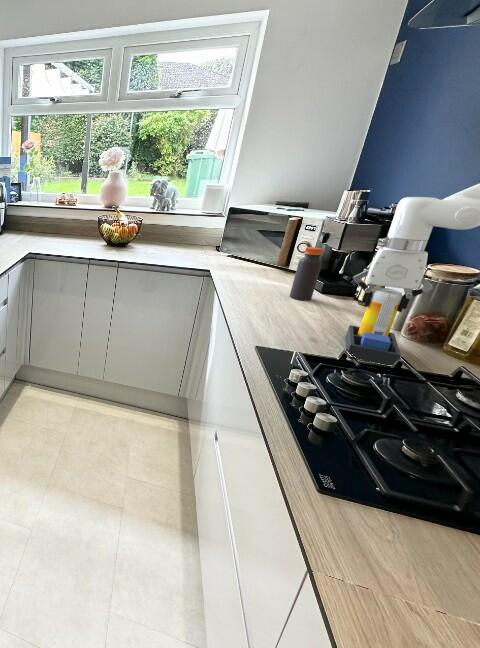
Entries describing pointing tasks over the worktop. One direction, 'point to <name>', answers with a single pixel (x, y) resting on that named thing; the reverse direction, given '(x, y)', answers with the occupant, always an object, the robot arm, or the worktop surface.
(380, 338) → the blue block
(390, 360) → the sorting tray
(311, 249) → the bottle
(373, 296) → the beer can
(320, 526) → the worktop surface
